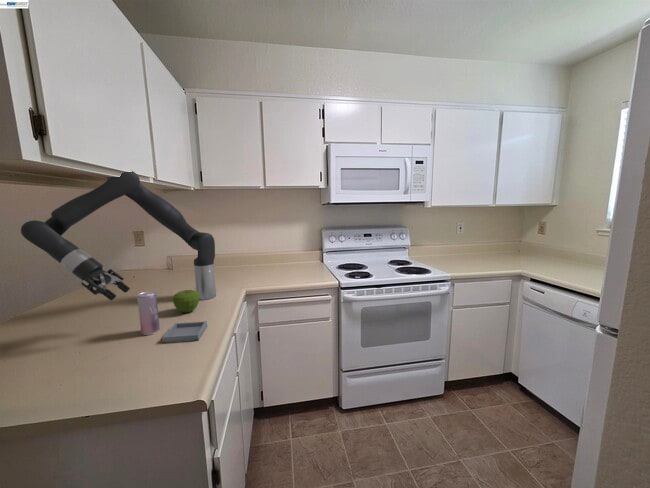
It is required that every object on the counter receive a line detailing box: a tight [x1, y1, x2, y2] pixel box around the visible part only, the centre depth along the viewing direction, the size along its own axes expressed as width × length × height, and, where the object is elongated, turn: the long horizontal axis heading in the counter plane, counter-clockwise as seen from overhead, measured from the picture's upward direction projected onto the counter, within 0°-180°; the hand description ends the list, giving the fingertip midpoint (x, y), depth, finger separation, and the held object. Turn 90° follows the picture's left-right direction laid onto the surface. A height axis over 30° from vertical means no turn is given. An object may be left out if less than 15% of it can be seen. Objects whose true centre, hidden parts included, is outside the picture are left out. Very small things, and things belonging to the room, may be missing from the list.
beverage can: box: [136, 290, 160, 336], centre depth 104 cm, size 6×6×15 cm
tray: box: [161, 320, 208, 344], centre depth 103 cm, size 12×12×2 cm
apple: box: [172, 289, 200, 313], centre depth 124 cm, size 11×10×10 cm
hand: (121, 294), depth 102 cm, fingers open, 8 cm apart
